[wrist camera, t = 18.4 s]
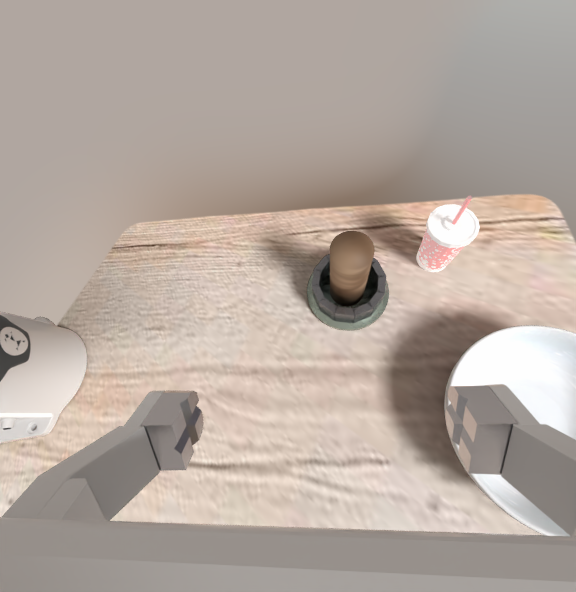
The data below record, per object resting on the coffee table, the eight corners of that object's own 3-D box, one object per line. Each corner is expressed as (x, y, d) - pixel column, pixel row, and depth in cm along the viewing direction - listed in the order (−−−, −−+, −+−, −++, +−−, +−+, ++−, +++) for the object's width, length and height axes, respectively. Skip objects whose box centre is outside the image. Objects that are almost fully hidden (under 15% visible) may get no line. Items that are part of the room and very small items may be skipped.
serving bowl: (484, 309, 44) (510, 290, 37) (654, 416, 37) (721, 414, 30) (396, 429, 39) (408, 430, 33) (569, 576, 32) (627, 613, 26)
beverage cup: (417, 280, 46) (451, 225, 34) (406, 245, 49) (433, 181, 36) (459, 272, 46) (509, 214, 33) (445, 238, 48) (487, 171, 36)
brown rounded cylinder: (338, 311, 46) (340, 275, 35) (324, 283, 48) (323, 240, 37) (369, 299, 46) (382, 259, 35) (355, 271, 48) (362, 224, 37)
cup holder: (325, 342, 45) (325, 335, 41) (296, 274, 49) (293, 261, 46) (403, 312, 45) (409, 301, 41) (366, 246, 50) (369, 232, 46)
